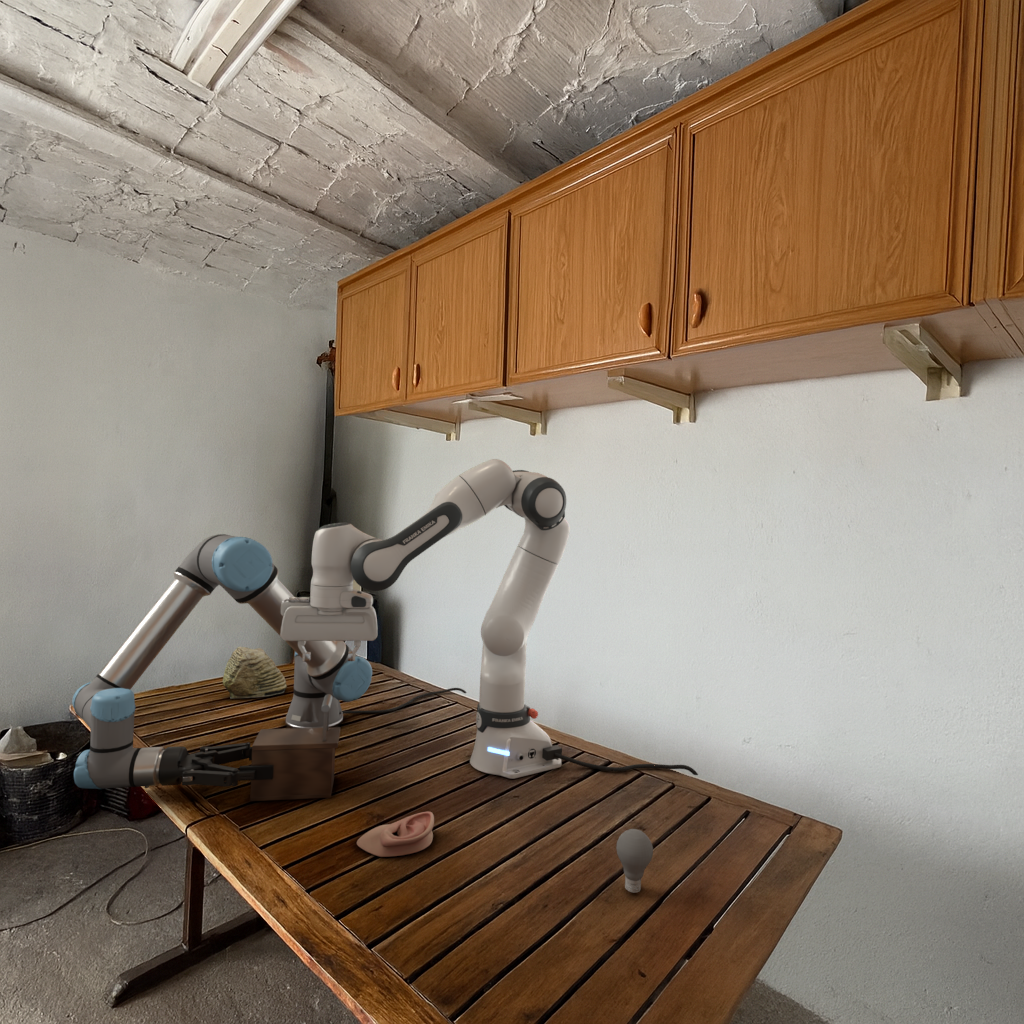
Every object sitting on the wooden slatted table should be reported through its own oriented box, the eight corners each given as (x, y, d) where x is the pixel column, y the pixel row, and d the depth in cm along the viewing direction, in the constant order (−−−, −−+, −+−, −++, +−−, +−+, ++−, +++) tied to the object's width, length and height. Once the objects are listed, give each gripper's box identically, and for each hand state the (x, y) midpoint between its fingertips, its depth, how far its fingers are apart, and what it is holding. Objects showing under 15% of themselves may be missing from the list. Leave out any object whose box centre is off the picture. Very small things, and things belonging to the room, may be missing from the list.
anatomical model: (349, 829, 113) (376, 800, 125) (348, 851, 113) (375, 820, 125) (420, 841, 111) (440, 810, 122) (419, 863, 111) (439, 830, 122)
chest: (334, 778, 143) (335, 732, 143) (330, 797, 134) (332, 748, 133) (258, 781, 140) (260, 734, 139) (250, 801, 130) (252, 751, 130)
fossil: (218, 695, 195) (220, 647, 195) (278, 685, 208) (279, 640, 207) (228, 703, 189) (230, 653, 188) (289, 692, 201) (290, 645, 201)
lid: (340, 731, 143) (342, 692, 143) (337, 748, 134) (339, 705, 133) (260, 733, 139) (262, 693, 139) (252, 750, 130) (253, 707, 130)
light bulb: (610, 879, 108) (613, 822, 108) (644, 879, 109) (647, 822, 109) (619, 902, 102) (622, 840, 102) (655, 901, 103) (658, 840, 103)
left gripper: (179, 762, 142) (284, 758, 147) (142, 810, 121) (267, 803, 125) (180, 729, 142) (285, 726, 146) (143, 771, 120) (268, 766, 125)
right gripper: (278, 599, 132) (276, 665, 132) (378, 600, 136) (376, 664, 136) (283, 594, 138) (281, 657, 138) (379, 595, 142) (376, 656, 142)
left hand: (276, 761), depth 136 cm, fingers closed on chest, 9 cm apart
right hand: (329, 660), depth 137 cm, fingers open, 8 cm apart
